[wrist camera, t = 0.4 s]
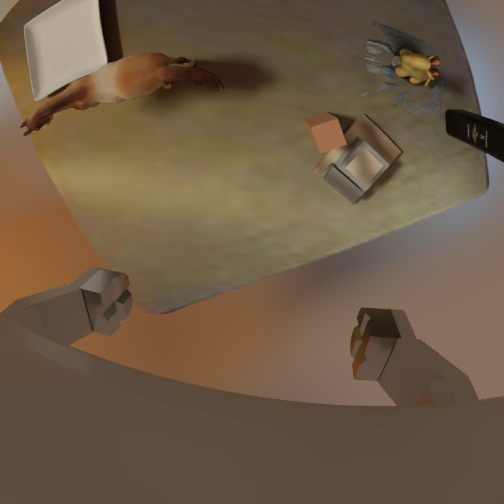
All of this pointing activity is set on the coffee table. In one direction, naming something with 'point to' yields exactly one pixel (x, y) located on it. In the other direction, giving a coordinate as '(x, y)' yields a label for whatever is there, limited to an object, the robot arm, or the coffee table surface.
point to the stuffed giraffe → (406, 65)
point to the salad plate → (64, 45)
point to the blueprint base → (357, 159)
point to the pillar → (325, 132)
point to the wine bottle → (476, 131)
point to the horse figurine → (122, 84)
